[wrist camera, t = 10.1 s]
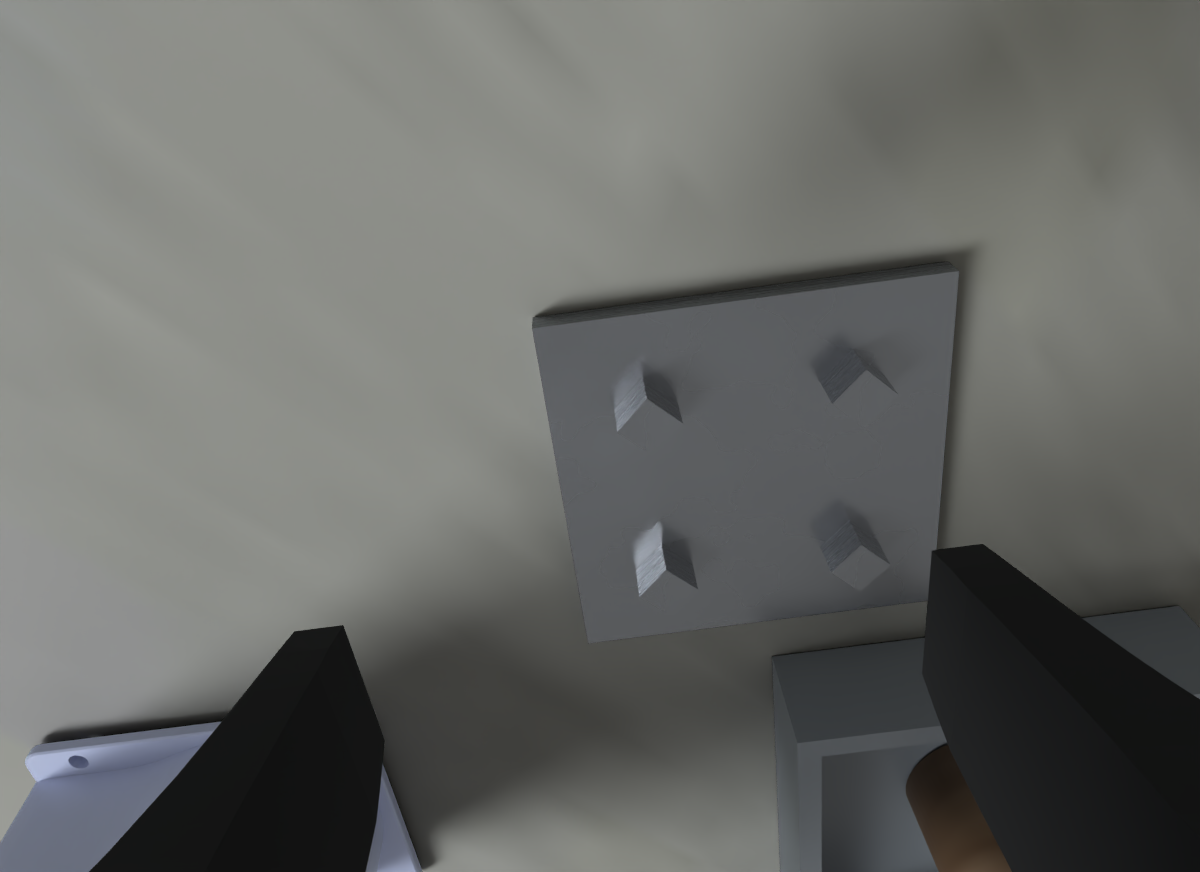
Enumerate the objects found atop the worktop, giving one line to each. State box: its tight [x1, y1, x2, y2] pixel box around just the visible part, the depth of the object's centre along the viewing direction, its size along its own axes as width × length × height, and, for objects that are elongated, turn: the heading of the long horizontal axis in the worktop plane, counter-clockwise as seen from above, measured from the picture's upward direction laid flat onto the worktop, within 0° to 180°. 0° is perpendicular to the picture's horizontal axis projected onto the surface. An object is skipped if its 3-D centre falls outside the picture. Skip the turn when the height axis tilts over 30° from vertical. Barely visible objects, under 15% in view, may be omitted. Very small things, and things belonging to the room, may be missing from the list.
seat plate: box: [532, 262, 959, 643], centre depth 21 cm, size 9×9×2 cm
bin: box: [772, 606, 1200, 872], centre depth 26 cm, size 11×11×3 cm
